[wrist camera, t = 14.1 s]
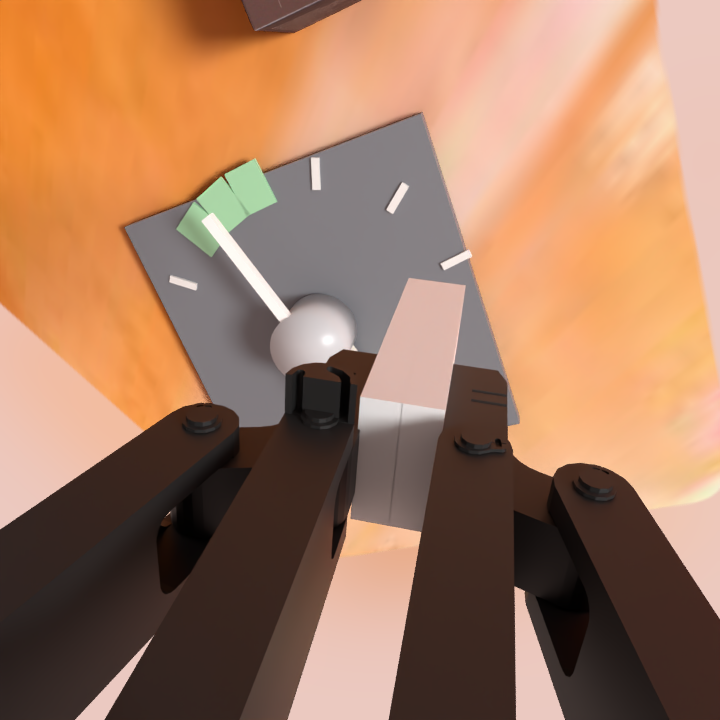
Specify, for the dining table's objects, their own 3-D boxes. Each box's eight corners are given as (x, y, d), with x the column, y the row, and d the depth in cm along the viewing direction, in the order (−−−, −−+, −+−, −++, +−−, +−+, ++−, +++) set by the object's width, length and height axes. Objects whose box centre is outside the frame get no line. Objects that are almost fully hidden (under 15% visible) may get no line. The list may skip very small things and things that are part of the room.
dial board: (124, 209, 47) (115, 213, 46) (422, 92, 40) (420, 93, 39) (256, 473, 55) (251, 482, 54) (524, 415, 48) (524, 423, 47)
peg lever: (202, 225, 45) (176, 240, 41) (255, 182, 43) (232, 195, 39) (383, 457, 50) (374, 489, 47) (438, 429, 48) (433, 460, 45)
